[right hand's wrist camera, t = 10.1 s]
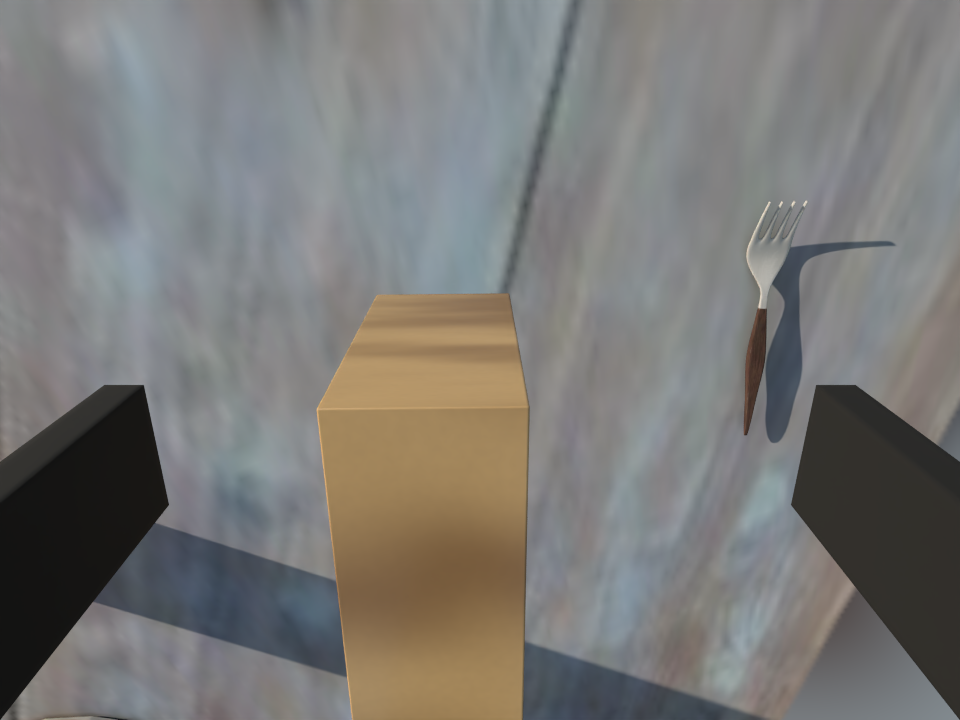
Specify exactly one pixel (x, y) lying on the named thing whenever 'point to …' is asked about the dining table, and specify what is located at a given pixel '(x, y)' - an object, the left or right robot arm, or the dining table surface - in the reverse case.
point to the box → (430, 508)
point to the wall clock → (80, 718)
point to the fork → (764, 296)
